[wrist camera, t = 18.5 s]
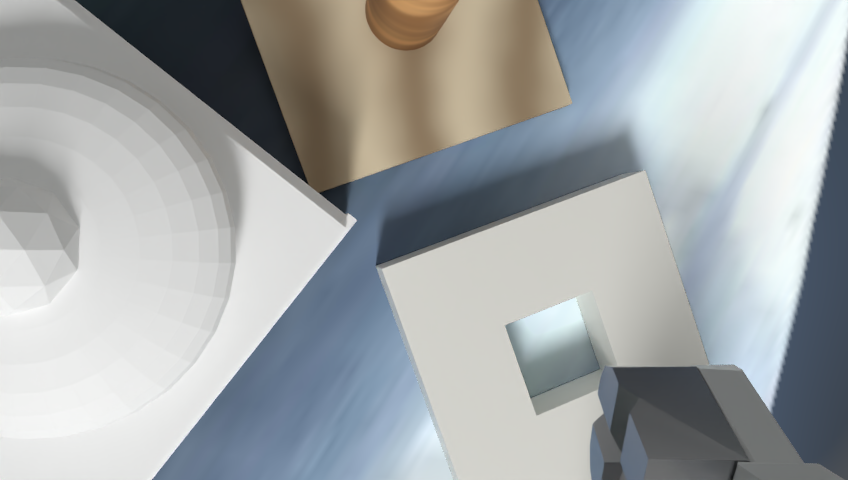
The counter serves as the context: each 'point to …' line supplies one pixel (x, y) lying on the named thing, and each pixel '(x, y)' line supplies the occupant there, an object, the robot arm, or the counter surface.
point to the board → (400, 81)
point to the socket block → (528, 294)
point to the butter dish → (129, 249)
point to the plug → (407, 21)
